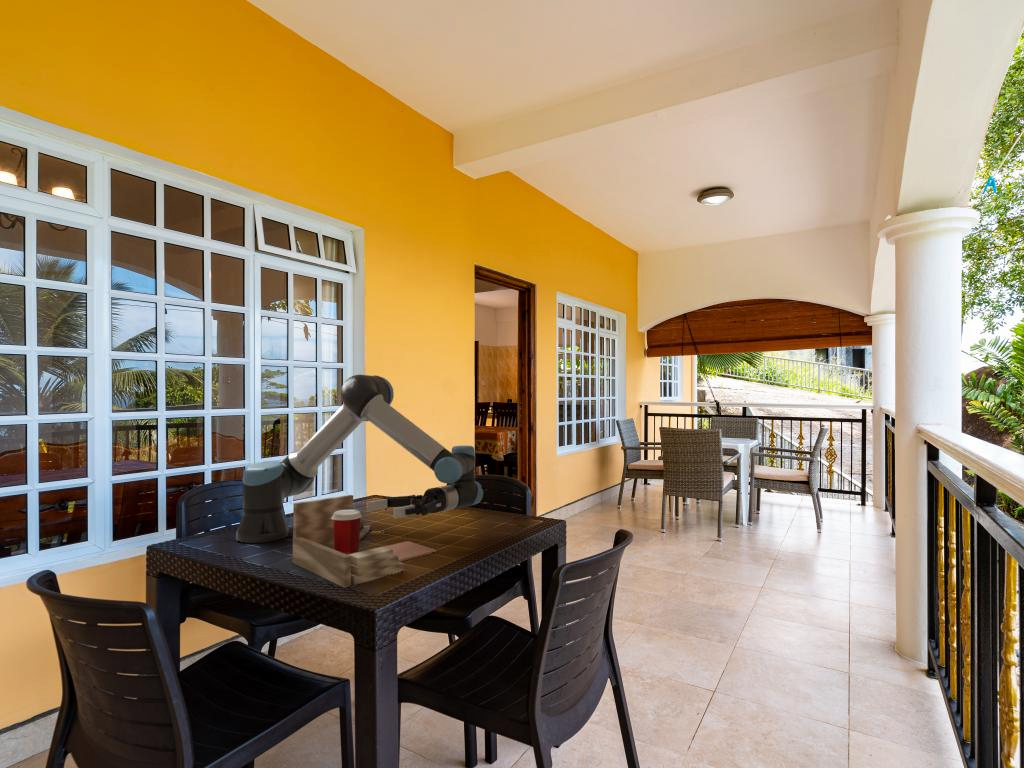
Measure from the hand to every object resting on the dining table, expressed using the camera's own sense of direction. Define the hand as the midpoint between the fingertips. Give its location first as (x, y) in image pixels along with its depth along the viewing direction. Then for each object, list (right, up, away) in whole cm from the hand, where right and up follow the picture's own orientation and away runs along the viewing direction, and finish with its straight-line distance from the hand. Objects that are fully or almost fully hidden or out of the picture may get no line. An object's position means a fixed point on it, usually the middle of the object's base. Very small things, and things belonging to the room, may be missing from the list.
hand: (380, 510), depth 151 cm
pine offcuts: (+3, -13, -16) cm, 21 cm away
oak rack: (-6, -13, -9) cm, 17 cm away
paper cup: (-7, -13, -7) cm, 17 cm away
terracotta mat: (+5, -13, +4) cm, 15 cm away
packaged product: (-16, -14, +23) cm, 31 cm away
